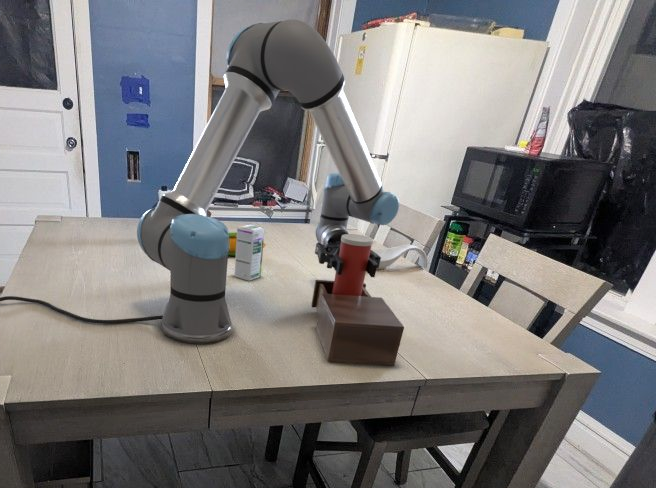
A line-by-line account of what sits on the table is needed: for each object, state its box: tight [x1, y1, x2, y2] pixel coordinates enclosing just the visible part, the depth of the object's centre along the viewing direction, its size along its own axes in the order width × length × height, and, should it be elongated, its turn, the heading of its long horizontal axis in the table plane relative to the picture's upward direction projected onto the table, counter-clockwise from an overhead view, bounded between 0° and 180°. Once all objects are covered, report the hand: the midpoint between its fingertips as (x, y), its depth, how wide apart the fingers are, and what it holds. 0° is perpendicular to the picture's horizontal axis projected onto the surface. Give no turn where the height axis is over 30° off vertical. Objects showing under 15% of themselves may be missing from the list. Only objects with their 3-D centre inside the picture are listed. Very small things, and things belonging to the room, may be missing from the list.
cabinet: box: [315, 293, 405, 367], centre depth 103 cm, size 17×14×9 cm
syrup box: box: [233, 223, 266, 282], centre depth 139 cm, size 6×6×14 cm
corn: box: [228, 232, 267, 257], centre depth 161 cm, size 7×8×20 cm
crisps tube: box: [332, 233, 374, 296], centre depth 111 cm, size 7×7×18 cm
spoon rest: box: [371, 244, 429, 270], centre depth 162 cm, size 24×12×7 cm, turn 102°
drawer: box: [310, 279, 372, 314], centre depth 116 cm, size 20×12×7 cm, turn 0°
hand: (357, 269), depth 105 cm, fingers closed on crisps tube, 7 cm apart
